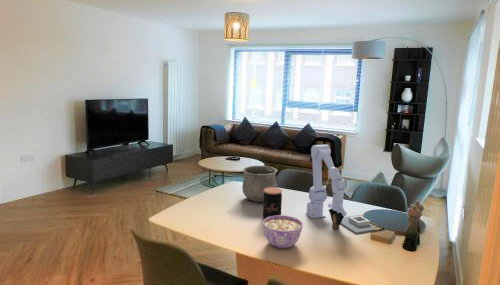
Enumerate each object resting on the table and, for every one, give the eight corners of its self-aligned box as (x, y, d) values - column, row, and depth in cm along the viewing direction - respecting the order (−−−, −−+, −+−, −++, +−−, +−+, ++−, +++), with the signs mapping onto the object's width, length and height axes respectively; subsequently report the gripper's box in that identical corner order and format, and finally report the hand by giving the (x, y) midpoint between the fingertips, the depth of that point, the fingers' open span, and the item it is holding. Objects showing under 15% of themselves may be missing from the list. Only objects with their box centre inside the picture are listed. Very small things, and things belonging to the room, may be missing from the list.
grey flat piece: (355, 234, 196) (356, 228, 196) (334, 220, 215) (334, 214, 214) (384, 229, 204) (385, 223, 203) (361, 216, 222) (362, 210, 221)
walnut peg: (334, 230, 201) (335, 216, 199) (330, 227, 204) (331, 213, 203) (340, 229, 202) (341, 215, 201) (336, 226, 206) (337, 213, 204)
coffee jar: (259, 220, 211) (260, 190, 208) (267, 214, 220) (268, 186, 217) (276, 224, 206) (277, 194, 203) (283, 218, 216) (284, 189, 212)
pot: (235, 196, 251) (236, 166, 247) (264, 192, 262) (265, 163, 258) (252, 208, 229) (253, 176, 225) (283, 203, 240) (285, 172, 236)
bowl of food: (279, 258, 168) (280, 234, 166) (254, 241, 184) (254, 220, 182) (310, 247, 180) (311, 225, 178) (283, 232, 196) (284, 212, 193)
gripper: (351, 203, 195) (350, 227, 198) (336, 195, 208) (334, 217, 211) (341, 205, 192) (339, 229, 195) (325, 196, 206) (324, 219, 208)
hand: (336, 223), depth 203 cm, fingers closed on walnut peg, 4 cm apart
